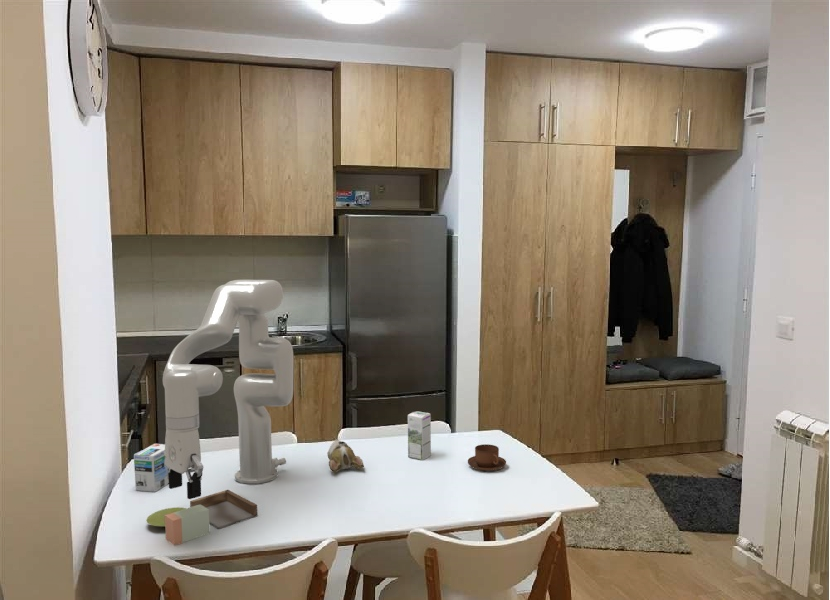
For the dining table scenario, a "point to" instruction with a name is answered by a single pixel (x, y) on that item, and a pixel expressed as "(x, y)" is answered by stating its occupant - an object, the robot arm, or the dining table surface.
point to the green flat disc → (161, 516)
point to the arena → (226, 508)
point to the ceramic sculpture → (342, 457)
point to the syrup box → (419, 435)
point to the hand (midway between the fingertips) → (184, 492)
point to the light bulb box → (151, 468)
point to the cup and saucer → (486, 458)
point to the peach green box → (187, 524)
